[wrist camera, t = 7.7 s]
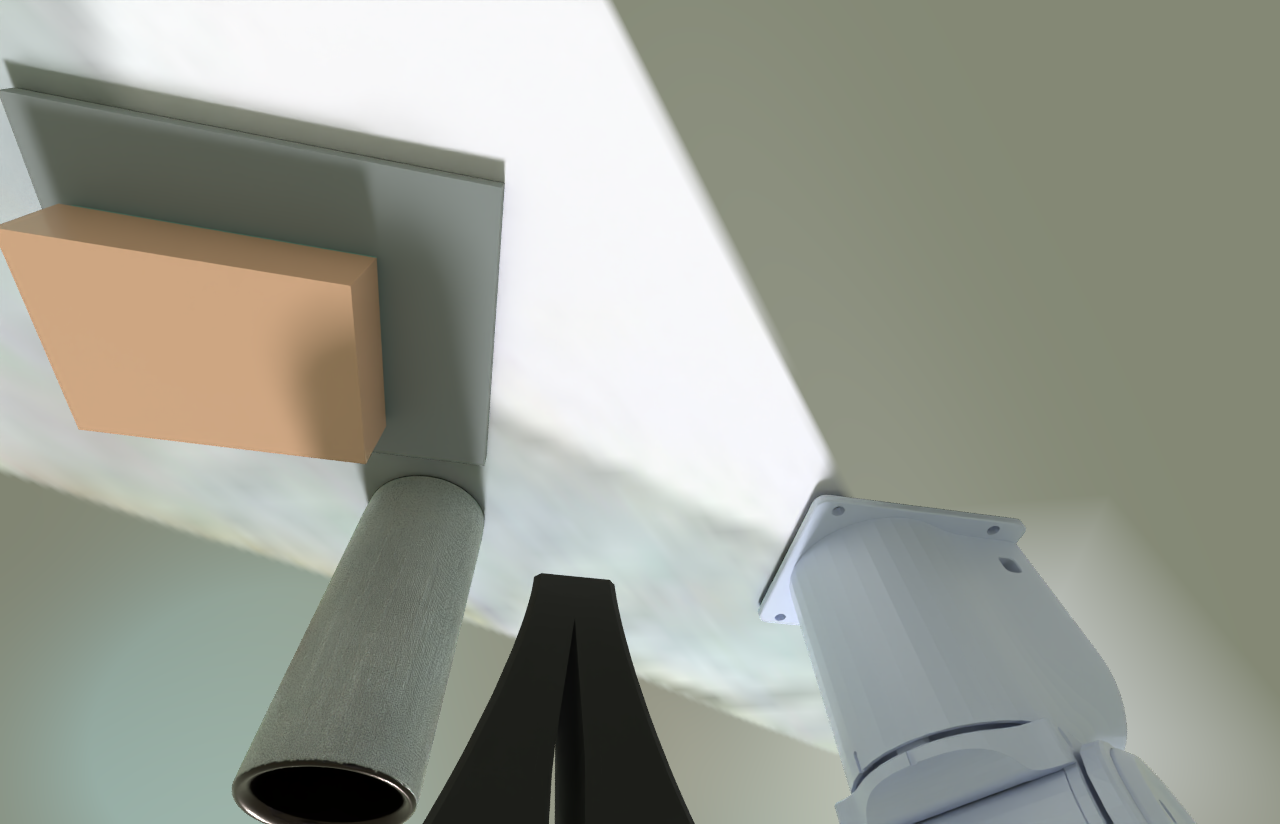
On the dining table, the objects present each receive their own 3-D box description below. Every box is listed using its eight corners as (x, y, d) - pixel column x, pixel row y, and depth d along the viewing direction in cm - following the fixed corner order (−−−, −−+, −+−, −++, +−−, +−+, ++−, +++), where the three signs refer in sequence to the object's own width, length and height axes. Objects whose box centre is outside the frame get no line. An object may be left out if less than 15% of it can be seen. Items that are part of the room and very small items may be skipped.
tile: (350, 286, 15) (-9, 227, 14) (366, 464, 18) (79, 429, 17) (380, 254, 17) (66, 200, 15) (388, 420, 20) (132, 386, 19)
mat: (504, 183, 16) (501, 187, 16) (486, 457, 22) (483, 465, 21) (14, 87, 14) (-3, 90, 14) (131, 412, 20) (121, 420, 20)
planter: (508, 527, 24) (452, 811, 16) (424, 567, 25) (330, 851, 17) (432, 455, 22) (319, 744, 13) (343, 504, 23) (187, 796, 14)
